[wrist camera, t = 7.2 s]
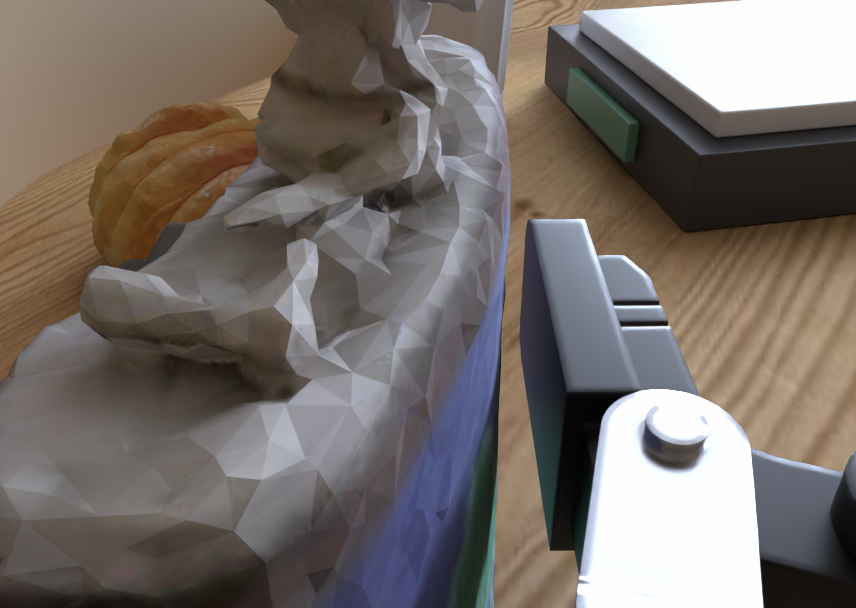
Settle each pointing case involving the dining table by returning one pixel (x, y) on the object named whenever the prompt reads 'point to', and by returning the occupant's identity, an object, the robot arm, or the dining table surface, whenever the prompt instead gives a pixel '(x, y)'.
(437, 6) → the cup
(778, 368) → the dining table surface
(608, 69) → the scale
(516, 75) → the dining table surface
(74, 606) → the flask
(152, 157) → the pastry
